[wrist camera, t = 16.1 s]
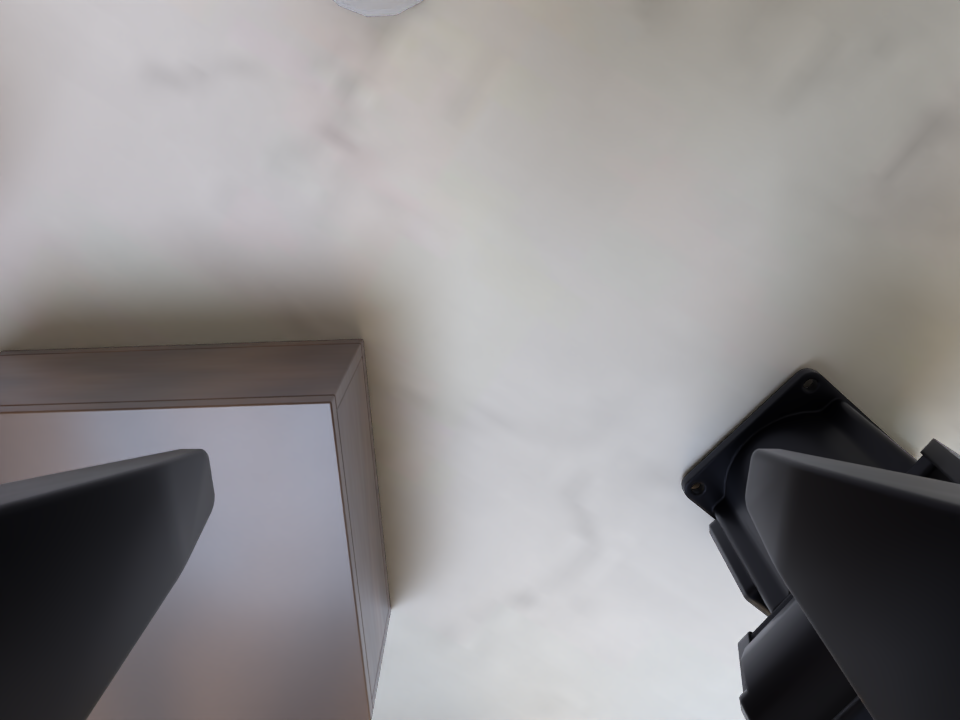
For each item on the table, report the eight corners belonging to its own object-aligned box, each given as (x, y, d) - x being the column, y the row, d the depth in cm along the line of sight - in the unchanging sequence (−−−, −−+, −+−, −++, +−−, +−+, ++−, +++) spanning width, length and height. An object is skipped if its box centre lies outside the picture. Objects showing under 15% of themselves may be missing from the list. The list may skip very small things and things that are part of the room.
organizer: (81, 619, 28) (-6, 733, 23) (0, 350, 24) (-129, 416, 19) (391, 610, 28) (371, 723, 23) (363, 338, 24) (331, 401, 19)
